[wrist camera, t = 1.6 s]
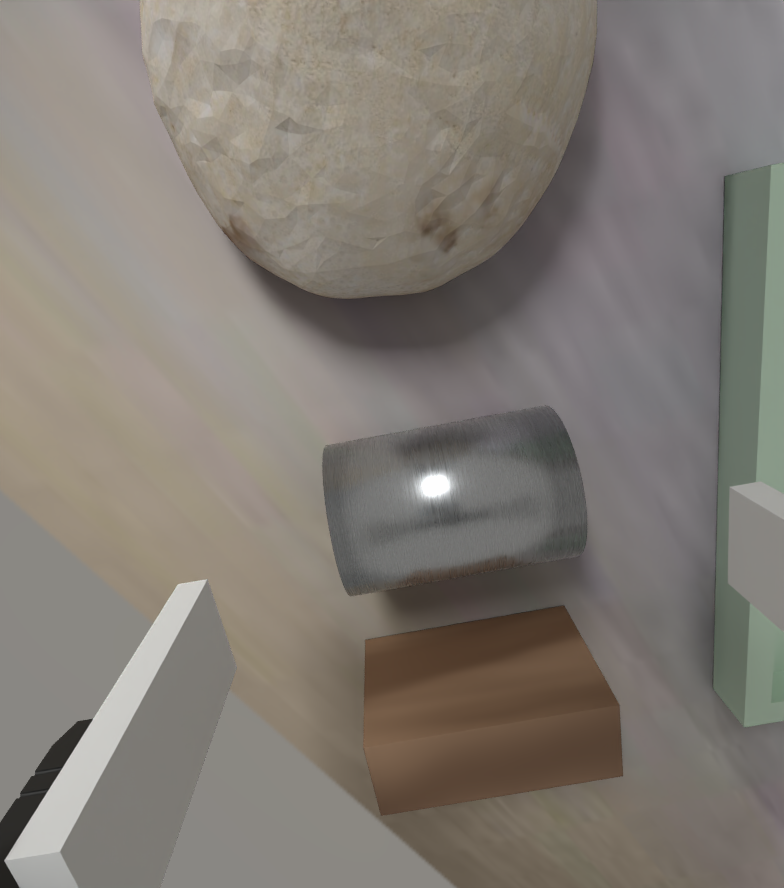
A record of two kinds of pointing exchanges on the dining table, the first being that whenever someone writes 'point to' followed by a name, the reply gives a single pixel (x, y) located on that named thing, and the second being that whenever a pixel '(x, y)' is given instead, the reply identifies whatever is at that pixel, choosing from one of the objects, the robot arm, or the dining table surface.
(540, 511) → the roller
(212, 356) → the dining table surface
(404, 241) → the stone
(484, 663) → the block
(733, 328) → the tray
